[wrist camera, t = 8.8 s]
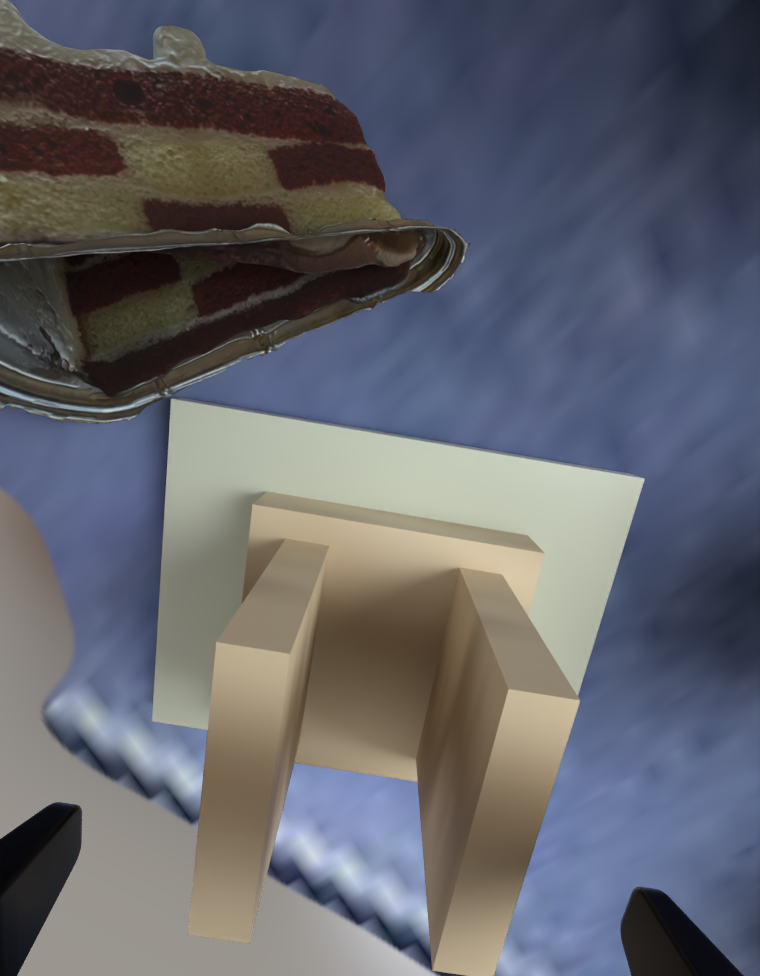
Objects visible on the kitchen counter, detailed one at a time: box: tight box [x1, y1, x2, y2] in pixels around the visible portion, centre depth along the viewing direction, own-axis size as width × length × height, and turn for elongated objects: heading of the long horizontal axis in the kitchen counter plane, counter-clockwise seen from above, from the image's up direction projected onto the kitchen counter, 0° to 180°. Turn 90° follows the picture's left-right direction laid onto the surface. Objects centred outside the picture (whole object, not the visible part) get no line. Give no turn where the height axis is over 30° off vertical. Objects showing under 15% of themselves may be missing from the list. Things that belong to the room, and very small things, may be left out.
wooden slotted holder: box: [188, 491, 580, 976], centre depth 11 cm, size 8×8×6 cm
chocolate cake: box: [0, 0, 470, 424], centre depth 11 cm, size 10×7×12 cm
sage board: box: [152, 398, 645, 730], centre depth 14 cm, size 14×11×1 cm
